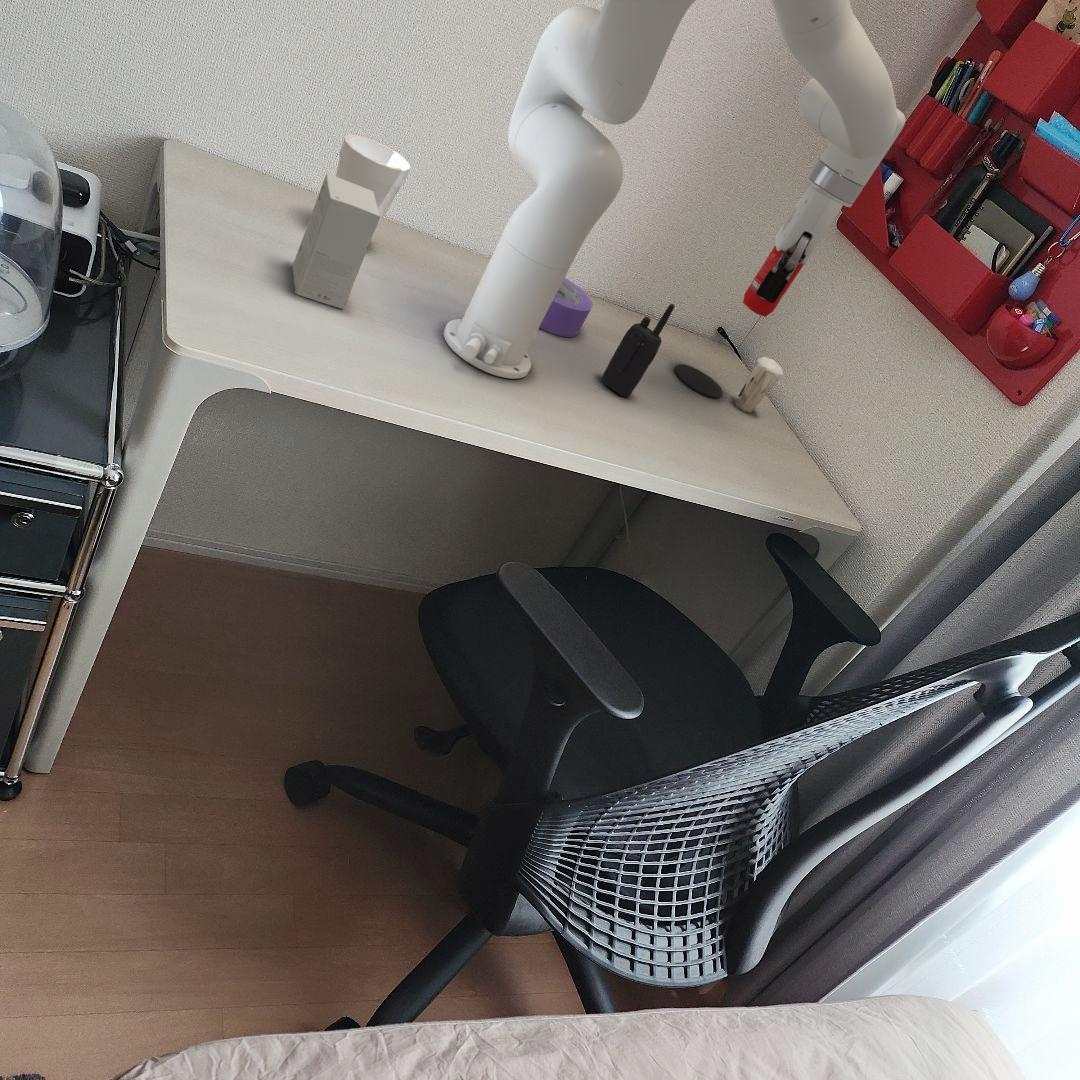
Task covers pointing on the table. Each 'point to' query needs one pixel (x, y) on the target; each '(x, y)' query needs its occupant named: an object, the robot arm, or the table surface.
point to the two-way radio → (634, 355)
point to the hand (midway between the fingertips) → (765, 292)
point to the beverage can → (750, 296)
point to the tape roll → (567, 310)
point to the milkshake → (759, 383)
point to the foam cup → (372, 169)
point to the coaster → (698, 381)
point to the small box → (335, 241)
